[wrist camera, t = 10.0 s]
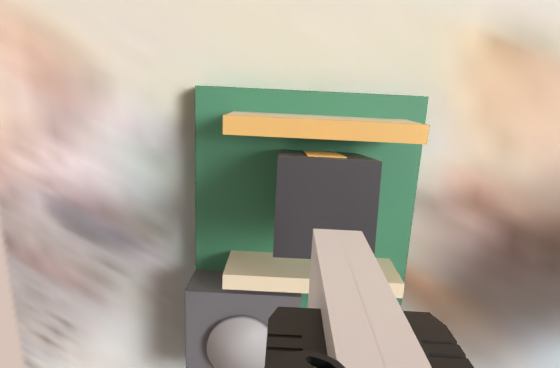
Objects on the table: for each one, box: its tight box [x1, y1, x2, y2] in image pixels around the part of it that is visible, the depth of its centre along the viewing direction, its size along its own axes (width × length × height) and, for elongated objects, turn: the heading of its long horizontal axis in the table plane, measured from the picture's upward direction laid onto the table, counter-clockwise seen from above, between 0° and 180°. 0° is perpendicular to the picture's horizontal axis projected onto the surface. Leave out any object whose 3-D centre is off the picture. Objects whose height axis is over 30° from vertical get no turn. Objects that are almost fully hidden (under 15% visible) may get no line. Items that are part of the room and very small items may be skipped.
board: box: [185, 86, 430, 368], centre depth 21 cm, size 17×12×5 cm
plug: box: [273, 149, 382, 259], centre depth 18 cm, size 4×4×6 cm
